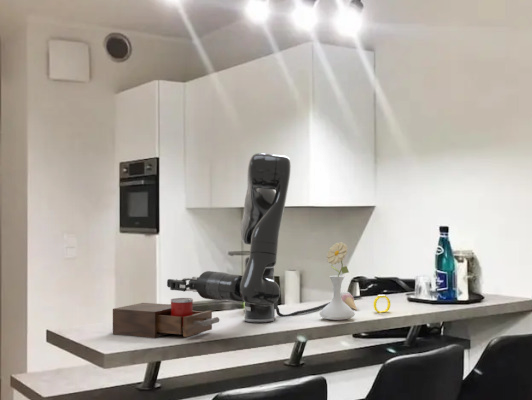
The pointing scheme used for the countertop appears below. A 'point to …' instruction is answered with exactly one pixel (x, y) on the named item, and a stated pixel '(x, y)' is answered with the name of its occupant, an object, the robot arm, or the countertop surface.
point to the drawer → (185, 323)
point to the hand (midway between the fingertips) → (180, 281)
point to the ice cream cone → (348, 299)
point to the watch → (376, 302)
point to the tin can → (181, 307)
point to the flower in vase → (337, 286)
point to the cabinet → (138, 319)
